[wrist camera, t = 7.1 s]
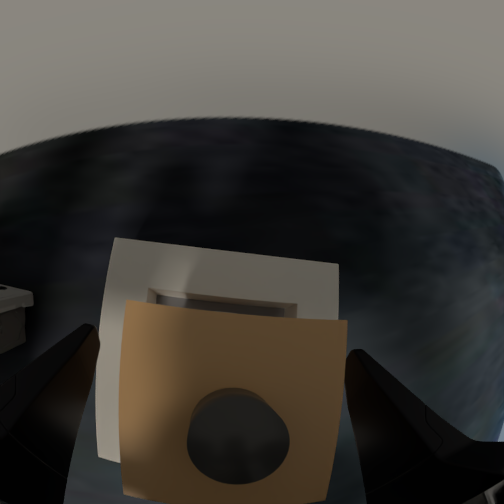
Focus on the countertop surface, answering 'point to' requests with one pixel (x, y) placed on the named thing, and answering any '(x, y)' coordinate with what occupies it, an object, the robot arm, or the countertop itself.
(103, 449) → the socket block
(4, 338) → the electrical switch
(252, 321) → the plug
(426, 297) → the countertop surface
